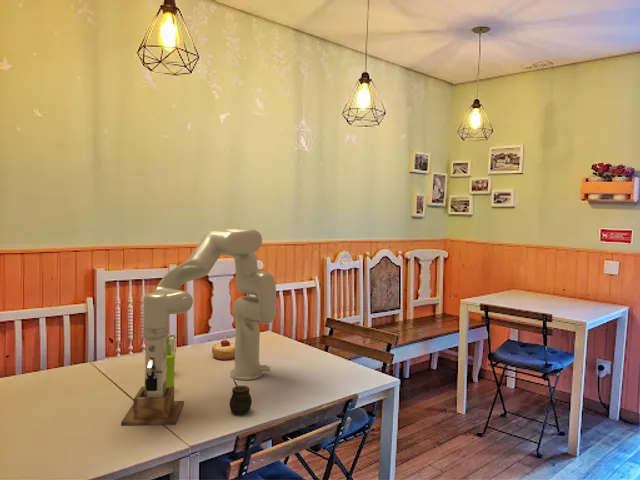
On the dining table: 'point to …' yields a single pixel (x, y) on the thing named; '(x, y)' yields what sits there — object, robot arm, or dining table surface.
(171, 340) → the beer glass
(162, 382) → the syrup box
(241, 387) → the mate gourd
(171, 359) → the soap dispenser
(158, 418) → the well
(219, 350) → the pastry
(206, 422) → the dining table surface
